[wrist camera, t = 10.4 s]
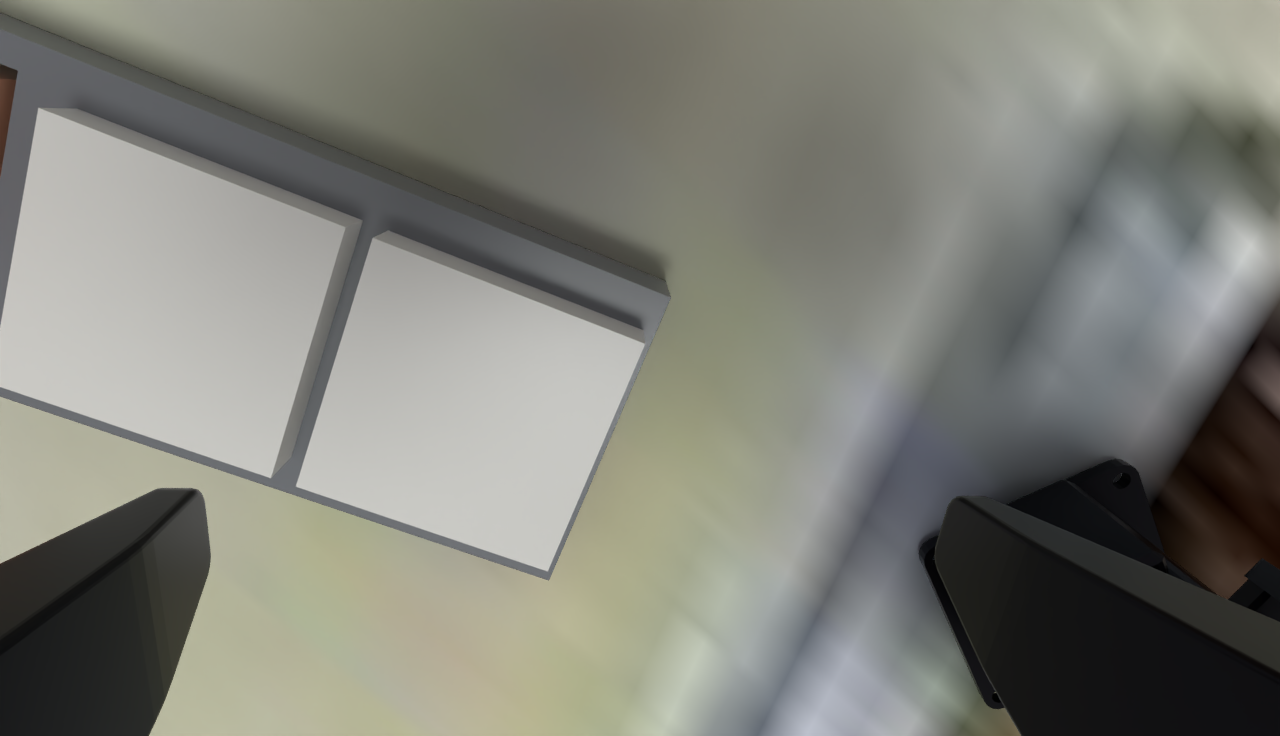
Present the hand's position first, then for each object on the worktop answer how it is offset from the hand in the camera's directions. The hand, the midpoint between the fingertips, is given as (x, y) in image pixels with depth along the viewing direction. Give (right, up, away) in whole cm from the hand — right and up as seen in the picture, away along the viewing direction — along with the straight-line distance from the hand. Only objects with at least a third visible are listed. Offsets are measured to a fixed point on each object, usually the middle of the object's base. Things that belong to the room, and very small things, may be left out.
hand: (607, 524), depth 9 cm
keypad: (-11, +4, +11) cm, 16 cm away
